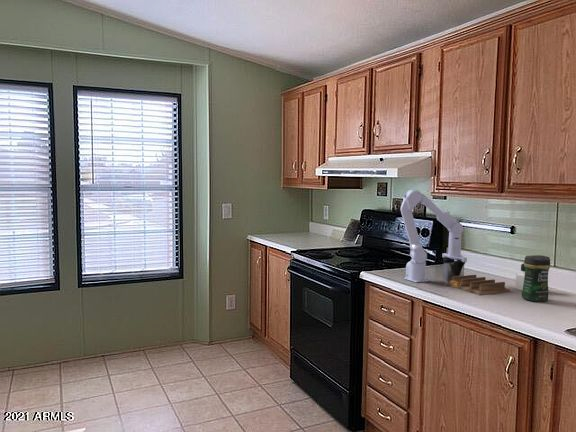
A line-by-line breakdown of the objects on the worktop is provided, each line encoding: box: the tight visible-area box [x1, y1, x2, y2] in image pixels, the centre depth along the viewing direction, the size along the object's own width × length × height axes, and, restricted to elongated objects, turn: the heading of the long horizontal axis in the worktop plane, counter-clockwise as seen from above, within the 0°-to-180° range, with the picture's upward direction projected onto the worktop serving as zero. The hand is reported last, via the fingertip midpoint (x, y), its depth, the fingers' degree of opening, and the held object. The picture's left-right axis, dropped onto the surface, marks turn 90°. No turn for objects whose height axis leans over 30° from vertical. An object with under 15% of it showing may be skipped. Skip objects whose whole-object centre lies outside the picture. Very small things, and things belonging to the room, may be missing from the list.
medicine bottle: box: [514, 262, 525, 292], centre depth 217 cm, size 7×7×12 cm
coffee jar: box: [521, 254, 551, 303], centre depth 200 cm, size 10×8×19 cm
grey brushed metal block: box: [442, 262, 465, 284], centre depth 234 cm, size 3×10×9 cm, turn 113°
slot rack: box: [446, 274, 511, 295], centre depth 220 cm, size 20×18×4 cm
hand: (453, 274), depth 235 cm, fingers open, 5 cm apart
